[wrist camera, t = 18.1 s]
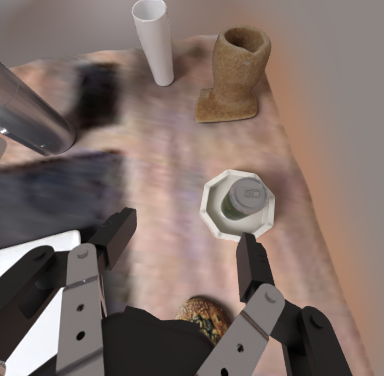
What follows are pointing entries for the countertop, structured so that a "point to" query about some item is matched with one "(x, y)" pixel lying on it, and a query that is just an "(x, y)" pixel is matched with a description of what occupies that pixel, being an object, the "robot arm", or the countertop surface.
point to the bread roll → (206, 317)
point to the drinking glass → (155, 38)
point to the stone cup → (234, 75)
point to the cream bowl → (230, 228)
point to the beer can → (244, 198)
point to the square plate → (50, 318)
